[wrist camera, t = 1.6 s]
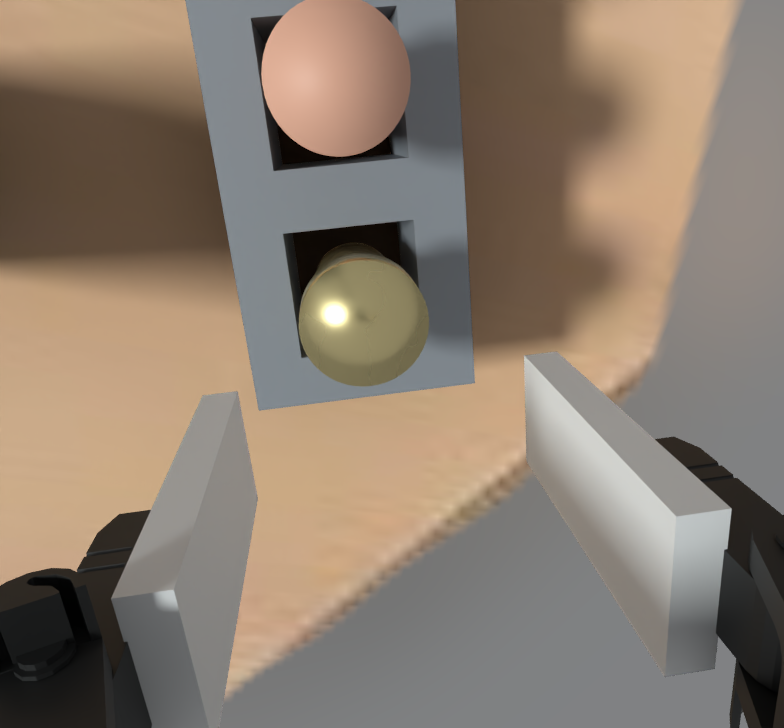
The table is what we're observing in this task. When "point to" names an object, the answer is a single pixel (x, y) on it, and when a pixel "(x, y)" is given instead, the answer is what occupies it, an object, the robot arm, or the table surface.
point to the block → (338, 195)
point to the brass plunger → (362, 317)
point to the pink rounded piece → (336, 76)
